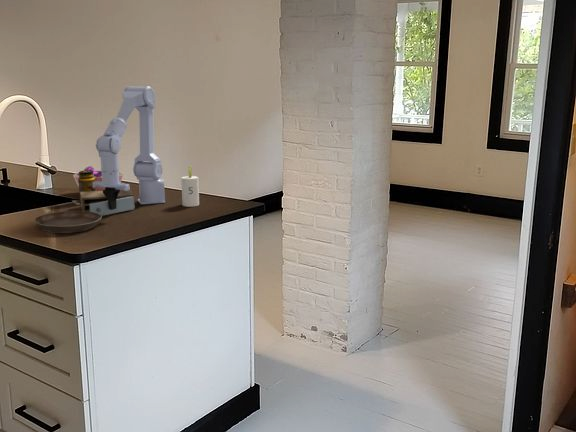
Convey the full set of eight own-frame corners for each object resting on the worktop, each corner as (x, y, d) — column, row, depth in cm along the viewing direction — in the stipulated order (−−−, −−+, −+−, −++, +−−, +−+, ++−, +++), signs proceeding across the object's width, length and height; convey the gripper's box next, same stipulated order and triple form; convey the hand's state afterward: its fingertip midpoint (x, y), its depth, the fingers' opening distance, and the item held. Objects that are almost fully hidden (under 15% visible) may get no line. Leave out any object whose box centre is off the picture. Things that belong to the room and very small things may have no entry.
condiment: (99, 202, 233) (97, 171, 230) (77, 205, 229) (74, 173, 226) (94, 199, 239) (92, 169, 236) (72, 201, 235) (69, 170, 232)
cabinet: (130, 203, 232) (130, 188, 231) (134, 209, 222) (133, 194, 221) (81, 206, 226) (80, 192, 225) (82, 213, 216) (81, 198, 215)
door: (133, 208, 222) (133, 196, 221) (136, 209, 221) (136, 197, 219) (90, 216, 209) (89, 203, 208) (93, 217, 208) (92, 204, 207)
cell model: (113, 199, 239) (111, 170, 236) (66, 197, 242) (63, 169, 240) (131, 190, 255) (129, 164, 252) (86, 189, 258) (84, 162, 256)
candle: (182, 207, 227) (181, 167, 223) (182, 203, 233) (180, 164, 229) (199, 206, 228) (198, 166, 224) (198, 202, 234) (197, 164, 231)
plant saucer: (101, 217, 212) (100, 208, 211) (103, 232, 193) (102, 222, 192) (37, 222, 205) (36, 212, 204) (33, 238, 186) (32, 227, 185)
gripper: (85, 170, 209) (88, 209, 212) (119, 174, 203) (121, 213, 206) (99, 167, 215) (102, 205, 219) (132, 170, 209) (134, 209, 213)
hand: (112, 209), depth 213 cm, fingers closed, pressing on door
